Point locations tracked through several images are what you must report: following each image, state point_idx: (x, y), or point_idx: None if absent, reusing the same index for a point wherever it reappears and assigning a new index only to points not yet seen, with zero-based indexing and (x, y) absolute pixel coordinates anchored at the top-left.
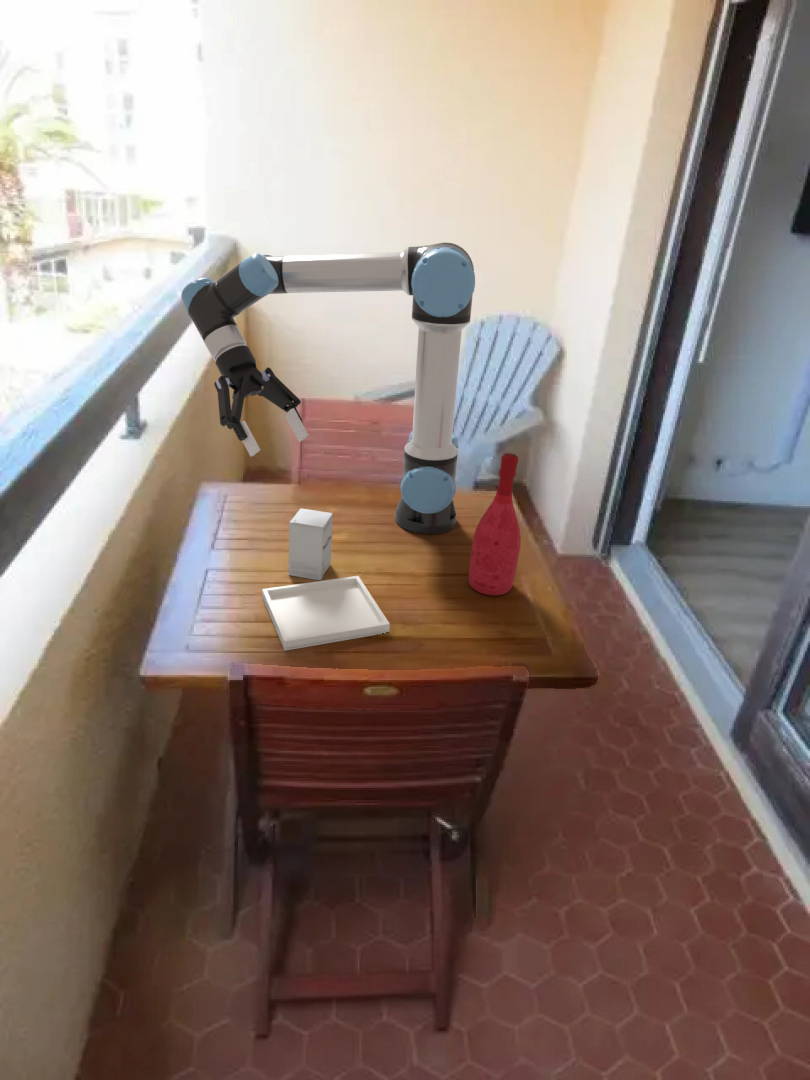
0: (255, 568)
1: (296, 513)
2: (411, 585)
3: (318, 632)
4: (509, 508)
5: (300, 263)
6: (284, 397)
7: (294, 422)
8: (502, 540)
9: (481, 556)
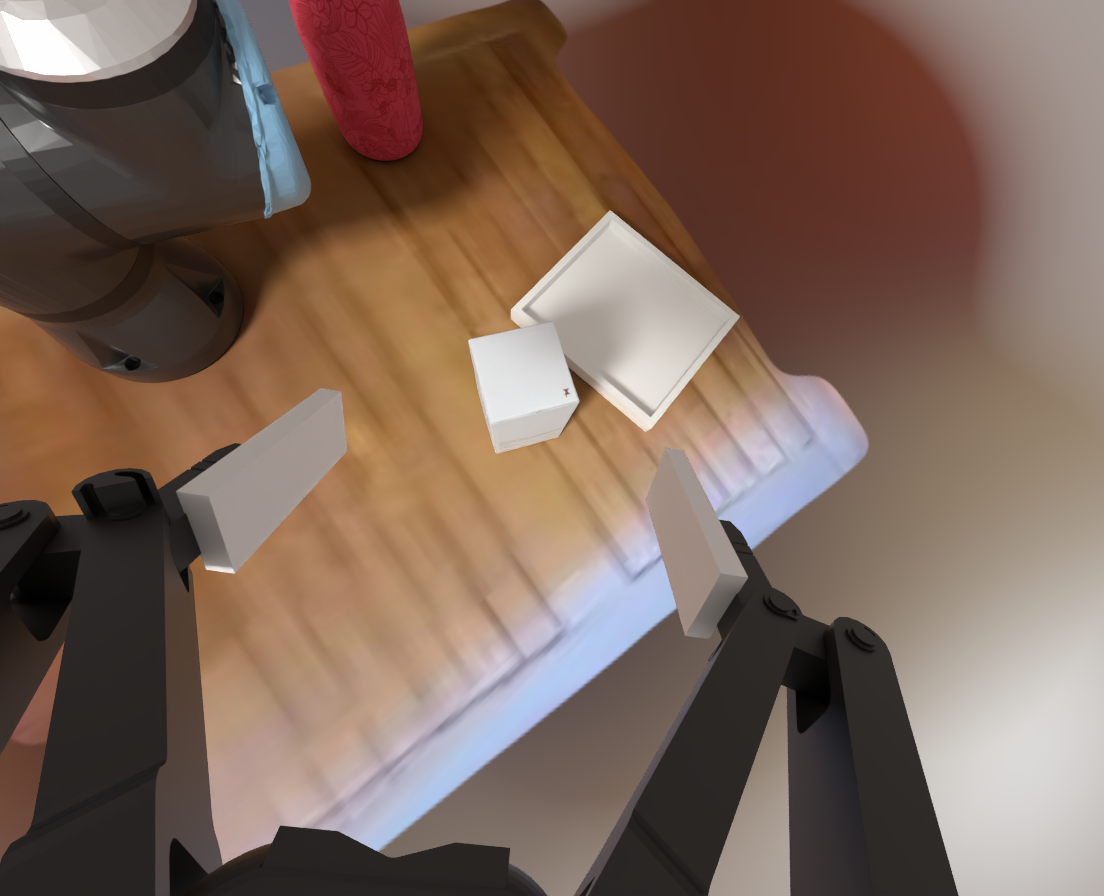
0: (574, 504)
1: (524, 416)
2: (460, 241)
3: (675, 300)
4: None
5: None
6: (98, 596)
7: (285, 471)
8: None
9: (407, 60)
